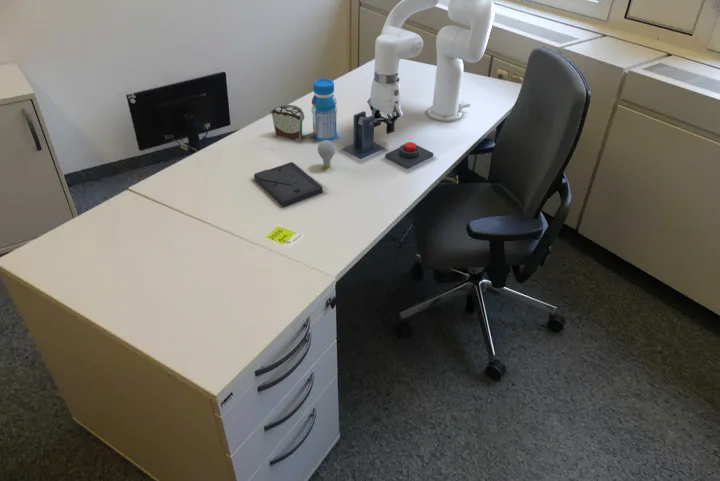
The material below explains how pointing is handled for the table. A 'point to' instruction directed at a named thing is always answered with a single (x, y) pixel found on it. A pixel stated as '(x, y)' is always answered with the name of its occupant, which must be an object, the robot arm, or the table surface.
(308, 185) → the picture frame
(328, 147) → the light bulb
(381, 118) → the switch lever
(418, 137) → the table surface
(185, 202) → the table surface
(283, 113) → the food container
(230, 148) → the table surface
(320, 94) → the beverage bottle
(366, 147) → the switch bracket
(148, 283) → the table surface
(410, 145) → the stop button
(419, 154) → the button housing
